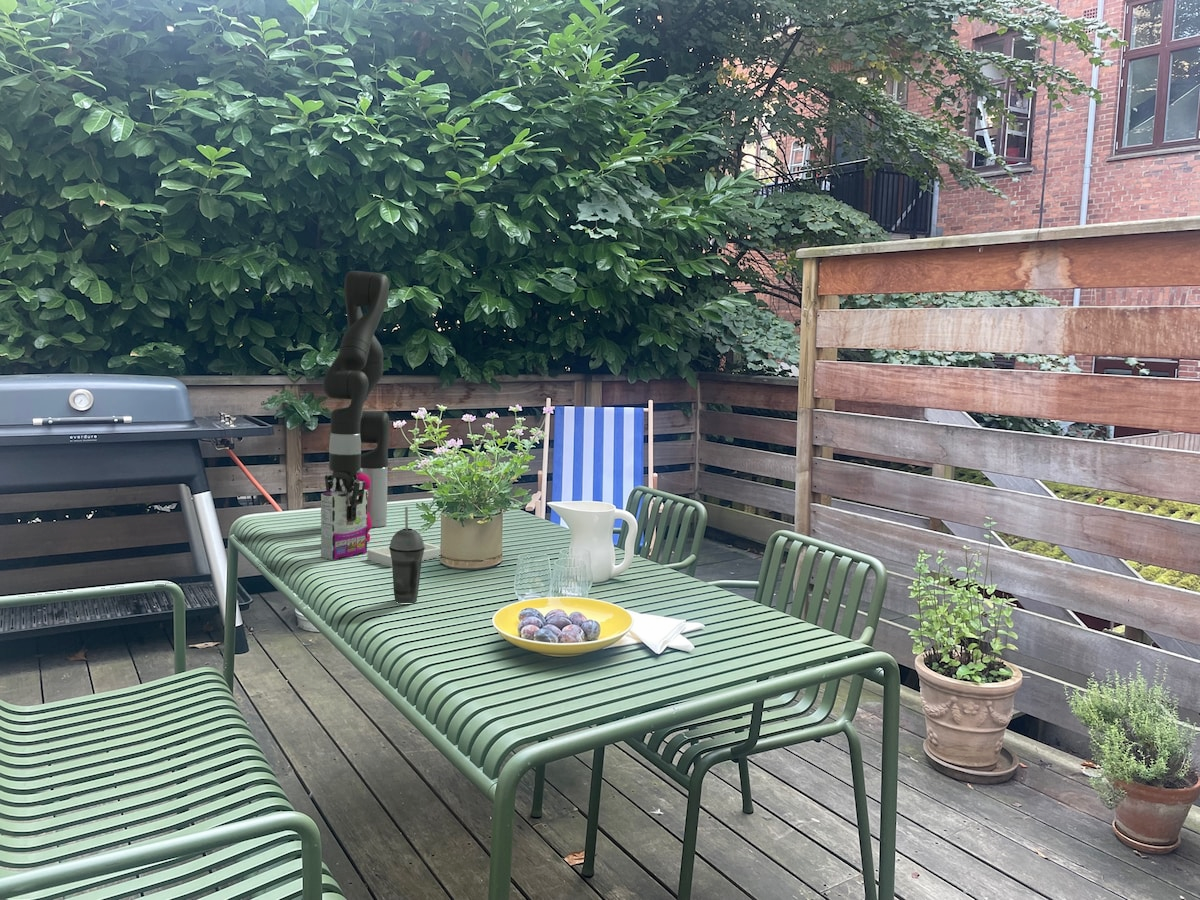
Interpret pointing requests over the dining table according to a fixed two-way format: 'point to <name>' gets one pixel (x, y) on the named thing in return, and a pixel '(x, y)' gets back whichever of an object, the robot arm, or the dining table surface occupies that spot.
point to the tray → (385, 558)
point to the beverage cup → (406, 563)
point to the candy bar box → (342, 527)
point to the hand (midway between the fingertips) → (344, 518)
